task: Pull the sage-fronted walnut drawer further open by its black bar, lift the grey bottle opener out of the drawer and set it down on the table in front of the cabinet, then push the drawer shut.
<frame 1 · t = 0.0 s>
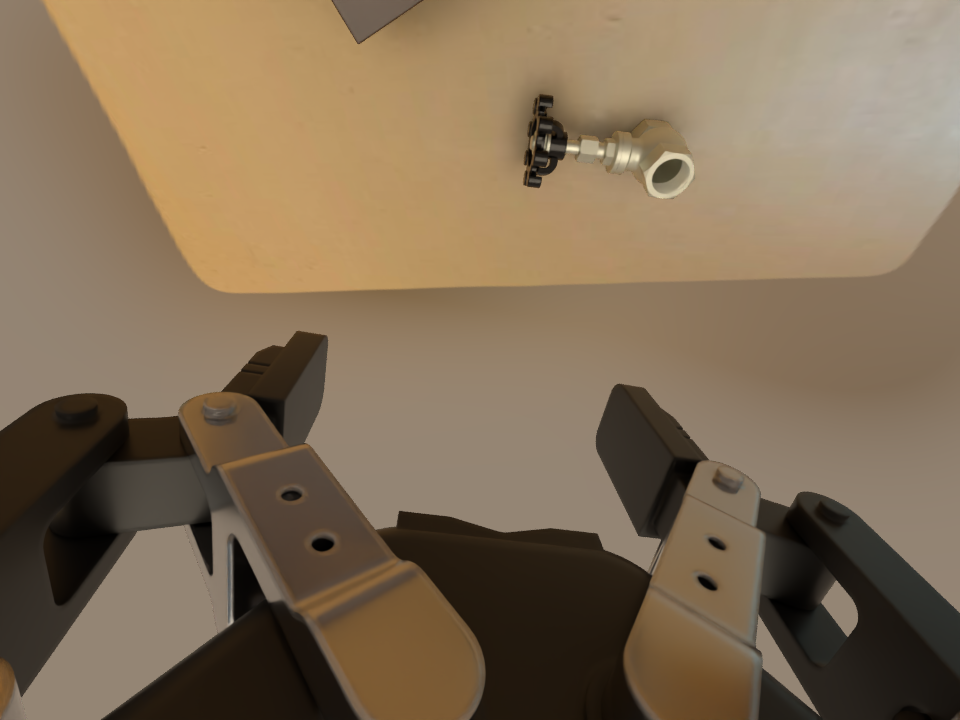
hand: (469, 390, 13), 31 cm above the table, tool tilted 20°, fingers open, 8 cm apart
valve: (600, 134, 39), on the table
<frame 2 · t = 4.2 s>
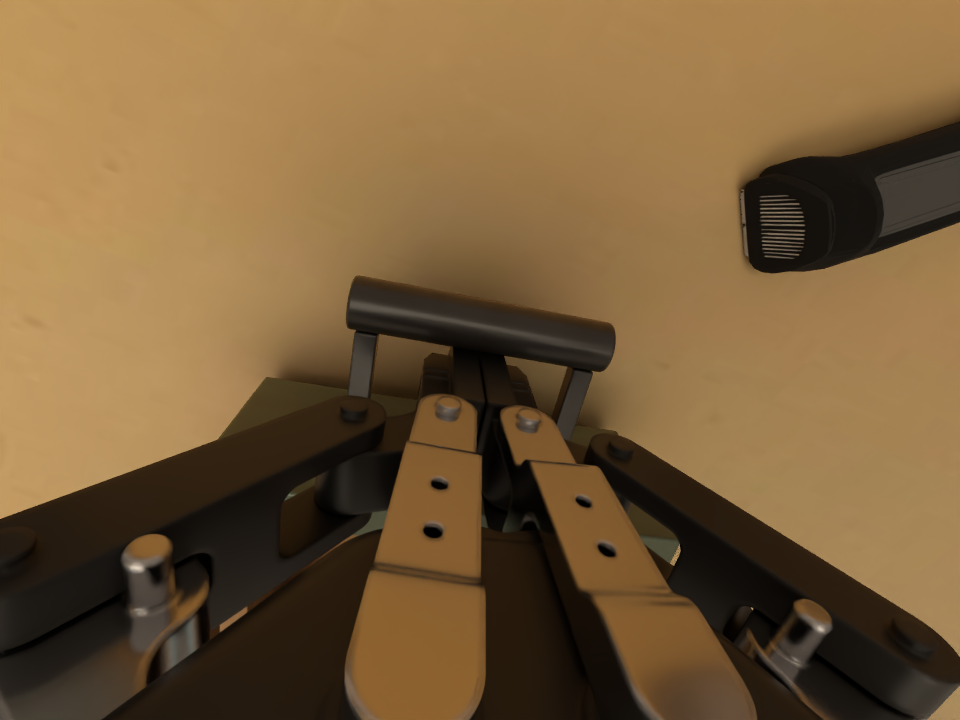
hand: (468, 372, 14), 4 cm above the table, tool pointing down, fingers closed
drawer: (425, 564, 17), point 4 cm above the table, slide at 7.0 cm, touching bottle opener, gripper
electric trimmer: (952, 149, 16), on the table
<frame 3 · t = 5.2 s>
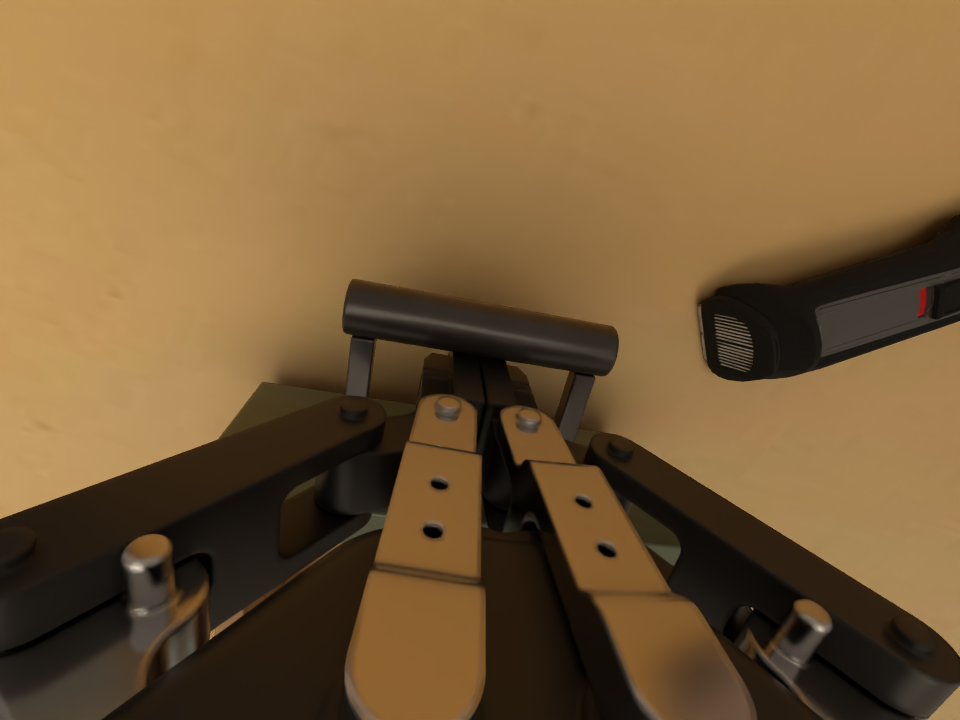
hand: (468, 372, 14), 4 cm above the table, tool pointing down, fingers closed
drawer: (425, 572, 17), point 4 cm above the table, slide at 11.1 cm, touching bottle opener, gripper
electric trimmer: (894, 265, 18), on the table
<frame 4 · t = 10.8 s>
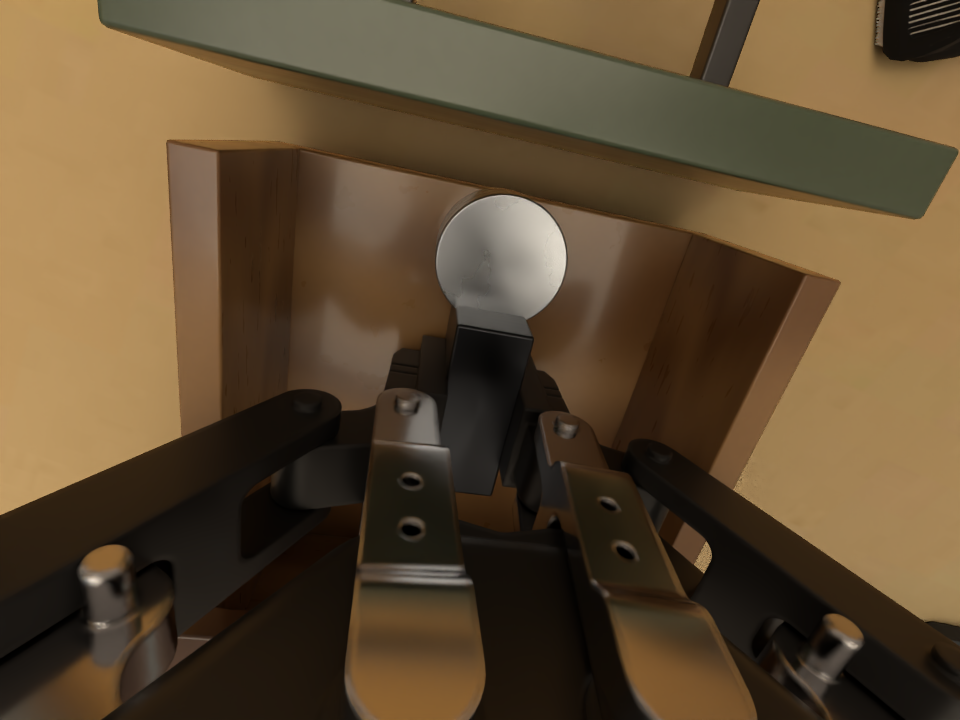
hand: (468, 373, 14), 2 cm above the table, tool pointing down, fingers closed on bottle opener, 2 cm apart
drawer: (492, 309, 12), point 4 cm above the table, slide at 11.2 cm, touching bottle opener
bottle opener: (470, 366, 14), point 2 cm above the table, touching drawer, gripper
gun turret: (914, 710, 28), on the table
cabinet: (410, 610, 21), on the table
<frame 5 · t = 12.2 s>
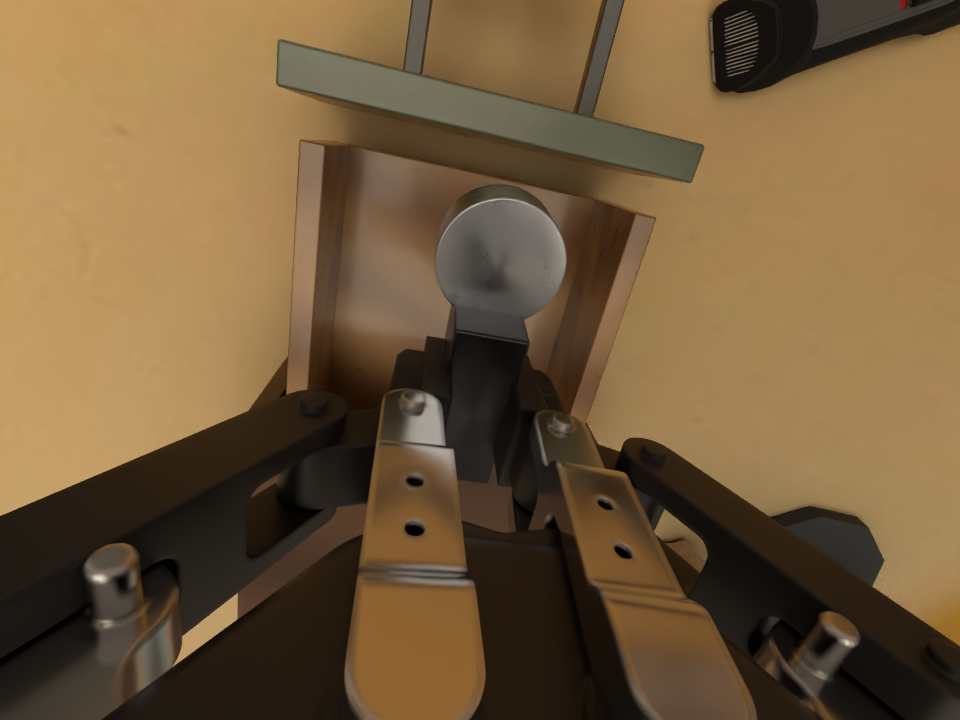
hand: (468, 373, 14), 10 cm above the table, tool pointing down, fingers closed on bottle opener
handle: (669, 552, 33), on the table
drawer: (468, 244, 19), point 4 cm above the table, slide at 11.2 cm
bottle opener: (470, 355, 15), point 10 cm above the table, tilted 7°, touching gripper
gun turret: (808, 588, 35), on the table
cabinet: (414, 489, 29), on the table
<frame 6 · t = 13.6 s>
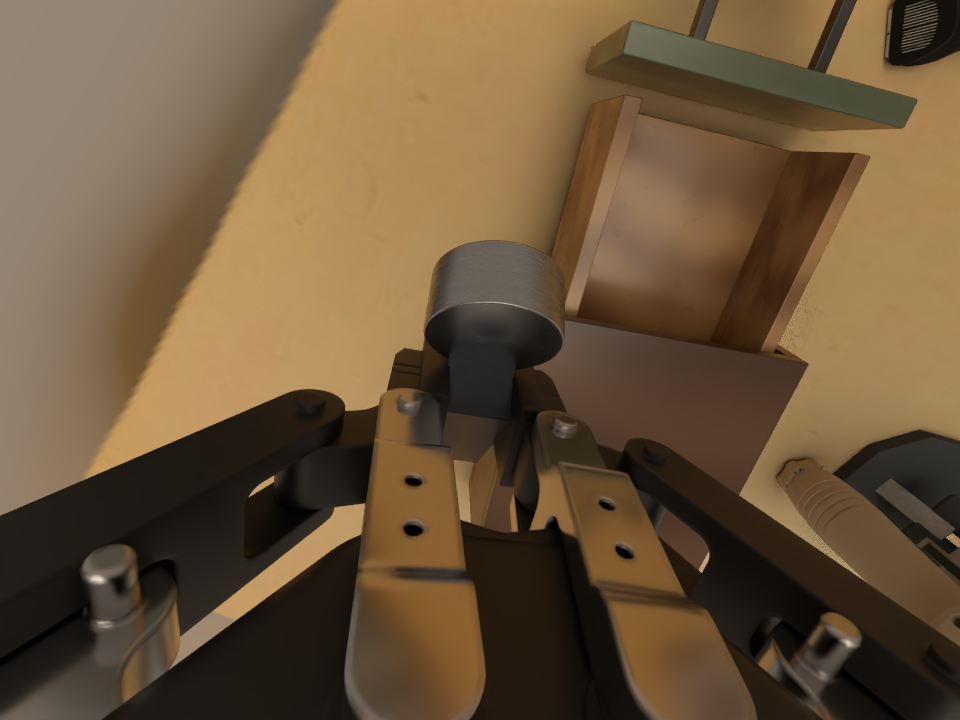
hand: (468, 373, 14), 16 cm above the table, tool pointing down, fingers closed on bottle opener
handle: (793, 471, 38), on the table
drawer: (701, 183, 24), point 4 cm above the table, slide at 11.2 cm
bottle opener: (472, 346, 15), point 16 cm above the table, tilted 40°, touching gripper
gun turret: (909, 508, 40), on the table
cabinet: (591, 406, 34), on the table
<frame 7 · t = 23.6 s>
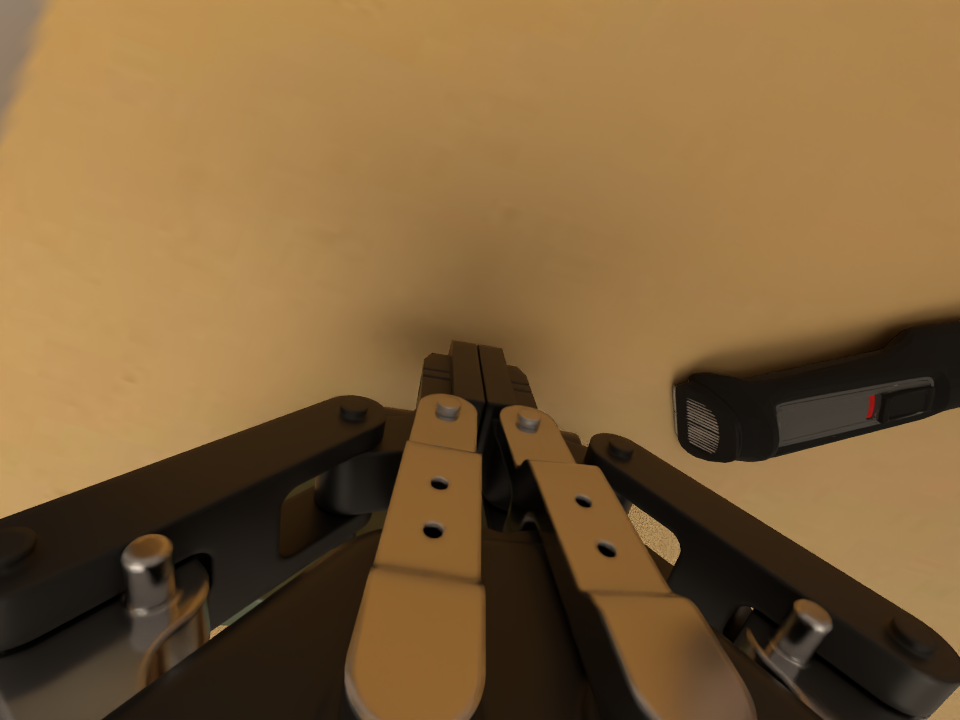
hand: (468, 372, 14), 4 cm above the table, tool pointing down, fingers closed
drawer: (415, 637, 19), point 4 cm above the table, slide at 10.6 cm, touching gripper
electric trimmer: (851, 363, 19), on the table
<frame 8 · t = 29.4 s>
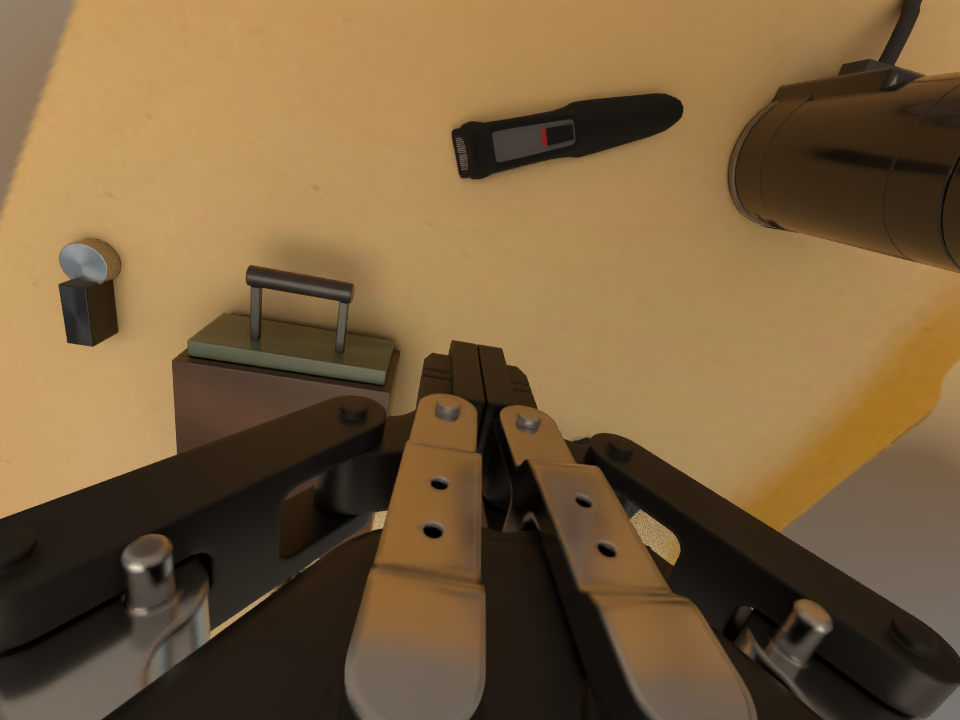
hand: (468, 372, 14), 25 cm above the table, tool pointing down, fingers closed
drawer: (297, 399, 38), point 4 cm above the table, slide at 0.0 cm, touching cabinet
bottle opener: (103, 303, 37), on the table
cabinet: (306, 420, 43), on the table
electric trimmer: (554, 131, 35), on the table
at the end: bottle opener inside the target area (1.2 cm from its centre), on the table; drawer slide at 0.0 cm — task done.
